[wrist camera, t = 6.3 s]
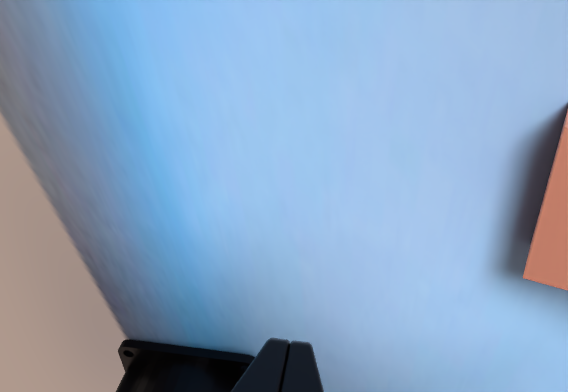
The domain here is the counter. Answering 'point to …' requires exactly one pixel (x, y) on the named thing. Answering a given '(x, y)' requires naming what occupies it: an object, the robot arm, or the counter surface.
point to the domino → (552, 225)
